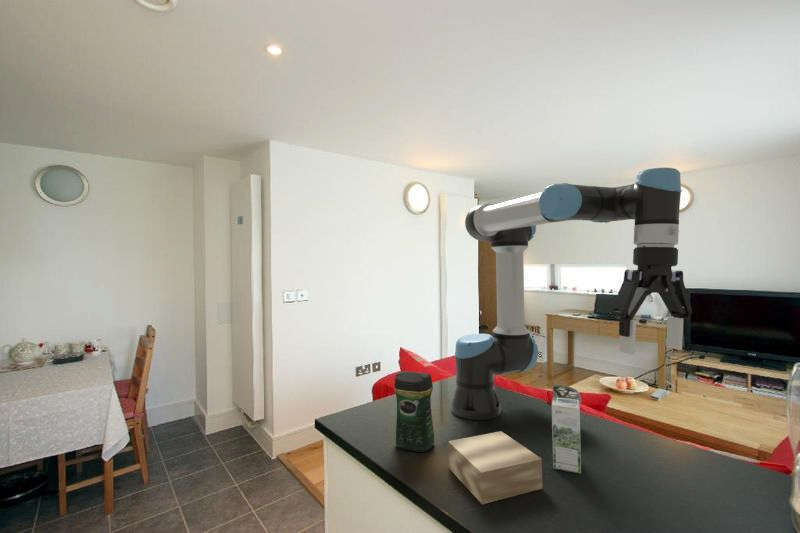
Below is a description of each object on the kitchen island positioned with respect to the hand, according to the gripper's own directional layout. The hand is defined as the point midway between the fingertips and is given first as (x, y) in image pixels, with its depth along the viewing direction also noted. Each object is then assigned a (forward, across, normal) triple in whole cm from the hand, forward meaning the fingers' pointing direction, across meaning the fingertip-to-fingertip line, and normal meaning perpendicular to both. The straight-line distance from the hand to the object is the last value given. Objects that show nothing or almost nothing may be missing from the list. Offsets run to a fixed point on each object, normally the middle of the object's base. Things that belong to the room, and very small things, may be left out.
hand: (651, 350), depth 77 cm
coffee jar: (+30, -38, +33) cm, 59 cm away
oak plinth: (+29, -28, +13) cm, 42 cm away
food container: (+28, +6, +27) cm, 40 cm away
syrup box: (+28, -10, +11) cm, 32 cm away
